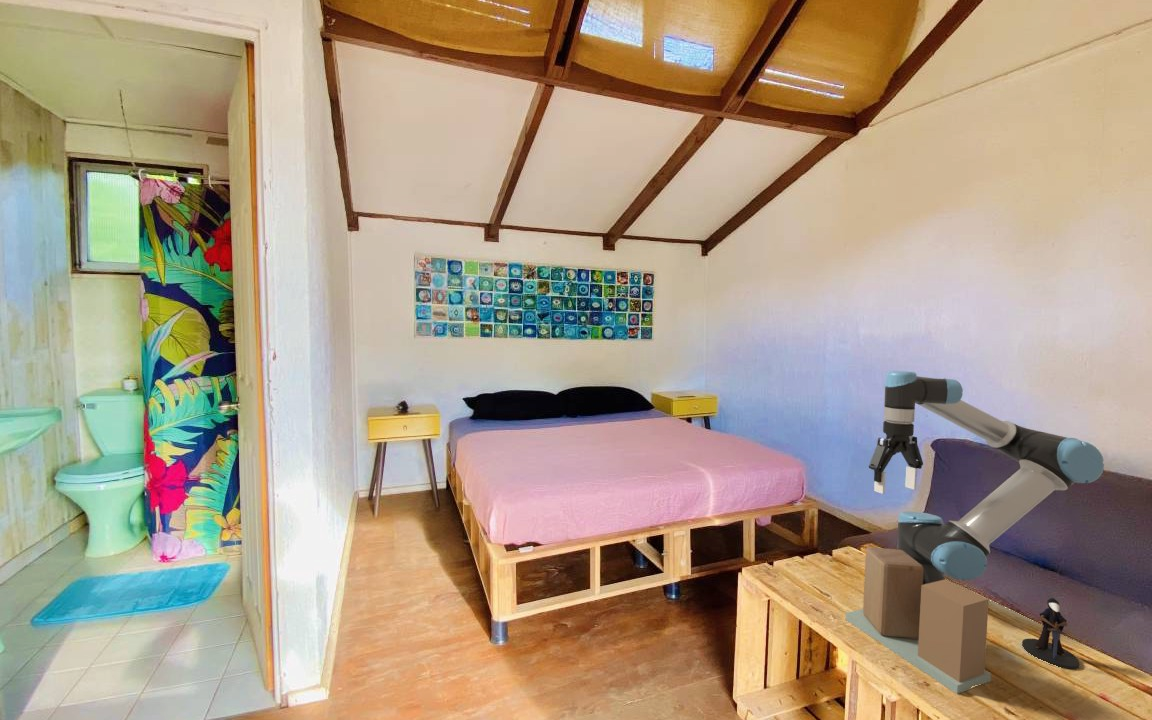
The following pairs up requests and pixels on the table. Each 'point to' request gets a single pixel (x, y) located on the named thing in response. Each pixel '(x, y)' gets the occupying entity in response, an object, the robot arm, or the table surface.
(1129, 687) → the table surface
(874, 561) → the wooden block
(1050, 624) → the figurine
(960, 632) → the brown block teal base
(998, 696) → the table surface
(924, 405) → the robot arm
